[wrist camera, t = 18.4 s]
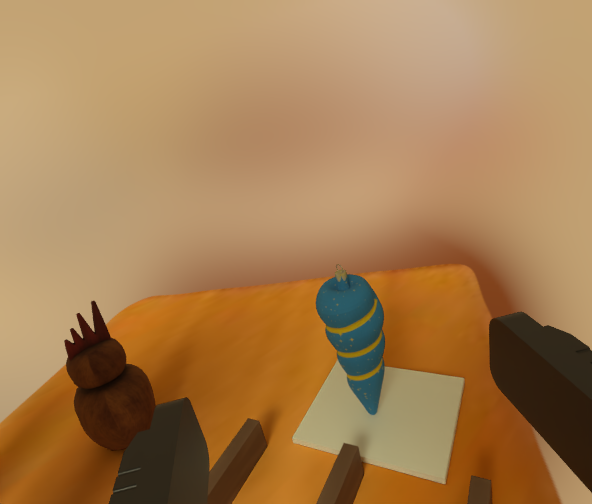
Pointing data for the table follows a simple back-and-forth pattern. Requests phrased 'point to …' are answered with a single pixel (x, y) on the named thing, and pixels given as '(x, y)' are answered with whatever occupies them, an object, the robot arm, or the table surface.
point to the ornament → (355, 333)
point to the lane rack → (337, 488)
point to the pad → (389, 421)
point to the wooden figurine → (107, 386)
